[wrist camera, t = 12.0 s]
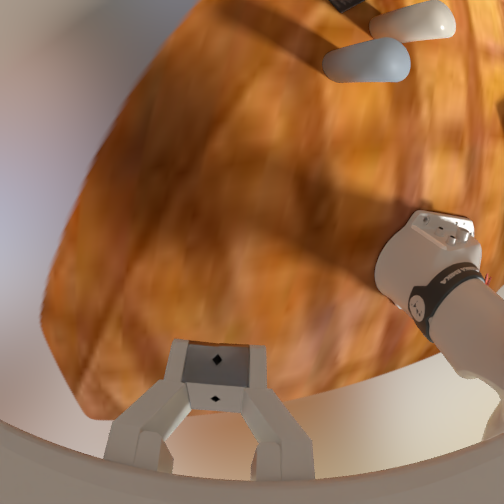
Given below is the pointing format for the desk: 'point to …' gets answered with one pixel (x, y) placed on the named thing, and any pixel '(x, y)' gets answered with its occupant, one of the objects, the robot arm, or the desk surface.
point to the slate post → (368, 62)
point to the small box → (344, 4)
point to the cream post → (415, 23)
